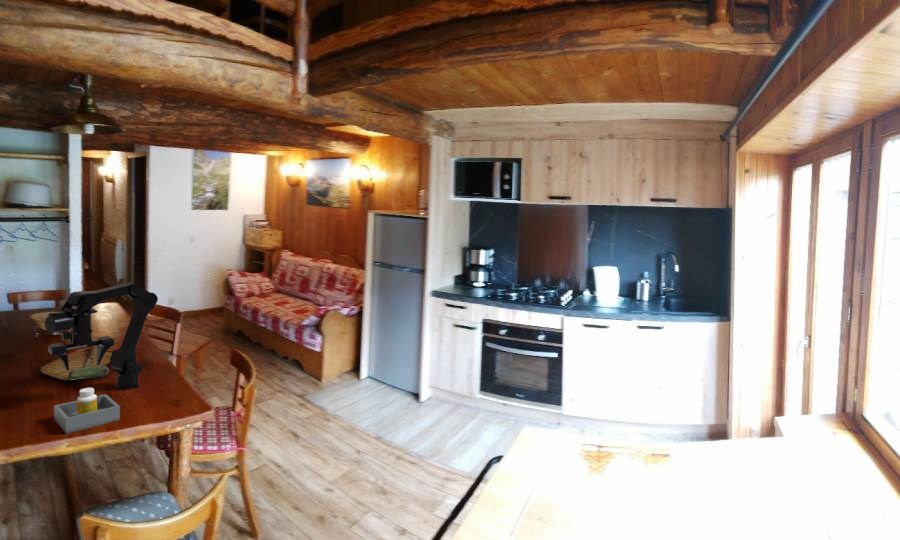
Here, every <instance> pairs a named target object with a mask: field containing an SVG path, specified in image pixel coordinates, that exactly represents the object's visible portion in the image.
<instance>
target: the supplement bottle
mask: <svg viewBox="0 0 900 540" xmlns="http://www.w3.org/2000/svg"><path fill="white" fill-rule="evenodd" d="M78 393H79V396H78V397H77V399H76V401H77V413H78V415H80V414H84V413H89V412H93V411H97V396H98V395H97V394H95V389H94V388H93V387H86V388H81V389H79V391H78Z"/></svg>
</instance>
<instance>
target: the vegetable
mask: <svg viewBox="0 0 900 540" xmlns="http://www.w3.org/2000/svg"><path fill="white" fill-rule="evenodd" d="M110 371H111V370H110V369H109V367H108V366H106V365H96V366H90V367H82V368H73V369H71V370H70V371H68V372H69V373H68V379H69V380H70V379H84V380H91V379H97V378H98V379H99V378H104V377H106V376H108V375H109V373H110Z"/></svg>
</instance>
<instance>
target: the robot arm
mask: <svg viewBox="0 0 900 540" xmlns="http://www.w3.org/2000/svg"><path fill="white" fill-rule="evenodd" d="M123 296H128V297H129V298H130V299H132V303H131V304H132V310H133V311H132V312H133V313H132V315H131V318H130V320H129V324H128V326H127V329H126V332H125V334H124V337H123V339H122V340H123V341H122V343H121V345H120V347H118V349H117V350H116V349H113V350H112V352H111V356H110V358H109V365H110V366H111V368H112V369H113V370H114V373H115V372H116V373H117V376H115V383H116V384H115V386H116V387H117V388H118V389H119V390H120V391H126V390H129V389H135V388H139V387H140V386H141V385H140V384H139V373H141V371H142V368H143V366H142V365H140V364H139V363H137V362H136V361H137V352H136V347H137V345H138V341H139V339H140V336H141V334H142V331H143V329H144V325H145V322H146V319H147V317H148V315H149V314H150V313H151V312H152V311H153V310H154V309H155V307H156V305H157V303H158V300H159V297H158V296H157V294H156V293H155V292H151V291H148V290H147V289H144V288H142V287H140V286H139V285H137V284H136V283H133V282H124V283H121V284H117V285H114V286H109V287H105V288H101V289H97V290H81V291H73V292H71V293H69V295H68V297H67V300H66V301H65V302H64V304H63V305H62V307H61V308H60V309H59V311H58V312H57V311H55V312H49V313H48V316H47V317H46V318H45V321H44V327H45V330H46V332H48V333H50V334H53V333H57V332H61V340H62V341H68V343H70V344H64V343H63V342H58V343H51V344H49V345H48V346H47V353H48V354H50V355H51V356H55V357H57V358H59V359H60V361H61V362H62V364H63V366H64V368H65V370H66V371H67V372H70V371H69V370H70V366H69V365H70V364H69V356H68V353H66V352H67V351H70V350H76V349H82V348H88V347H95V346H96V366H100V364H101V361H102V359H103V358H104V356H105V355H106V353H107V351H108V350H110V349H111V347H114V346H115V339H114V338H113V337H111V336H109V335H105V336H98V337H96V338H97V339H96V340H93V336H92V335H93V328H92V314H96V313H98V310H96V309H95V308H94V307H95V306H98V305H99V304H100V303H103V302H104V301H109V300H112V299H116V298H119V297H123ZM70 329H71V330H70ZM69 330H70V331H69Z"/></svg>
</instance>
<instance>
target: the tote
mask: <svg viewBox="0 0 900 540" xmlns="http://www.w3.org/2000/svg"><path fill="white" fill-rule="evenodd" d="M96 396H97V411H93V412H89V413H84V414H80V415H78V413H77V400H74V401H69V402H64V403H60V404H55V405H53V413H54V414H53V416H54V417H53V419H54V421H55V422H56V424H57V425H58V426H59V427H60V428H61V429H62V431H63V432H64V433H65V434H66V435H68V434H71V433H75V432H76V433H77V432H79V431H82V430H83V431H84V430H87V429H91V428H94V427H99V426H101V425H106V424H110V423H114V422H117V421H120V420H121V406H120V405H119V404H118V403H117V402H116V401H114V399H112V398H111V397H110V396H109V395H108V394H100V395H96Z"/></svg>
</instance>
